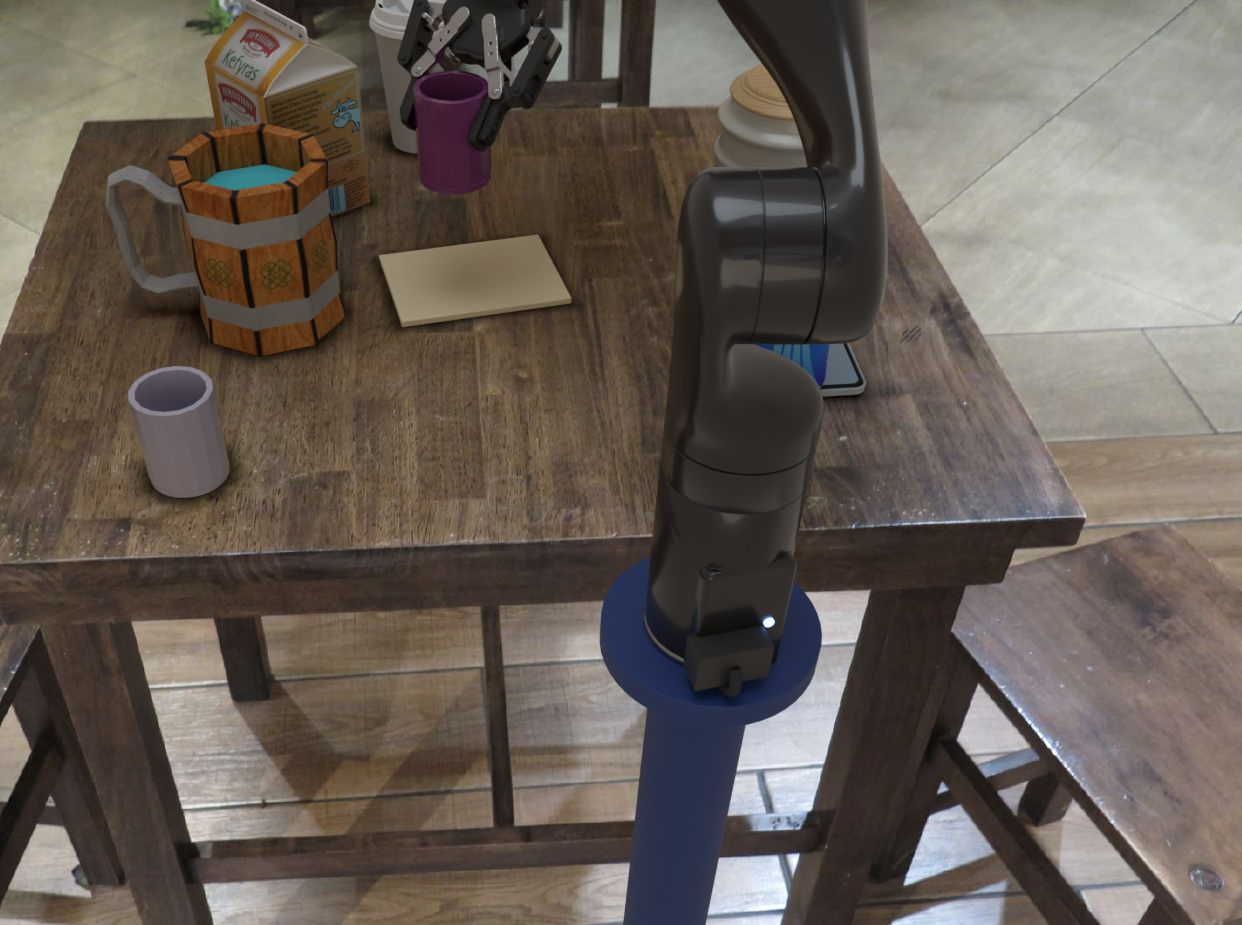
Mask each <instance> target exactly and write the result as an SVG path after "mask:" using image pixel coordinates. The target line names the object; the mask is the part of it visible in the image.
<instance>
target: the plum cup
mask: <svg viewBox="0 0 1242 925" xmlns="http://www.w3.org/2000/svg"><path fill="white" fill-rule="evenodd" d="M413 94H414V109H415V125H416V141H417V154H416V155H417V156H416V157H417V169H418V176H419V181H420V184H421V185H422V186H423V187H424V188H426V189H427V190H428V191H429V190H430V191H431V192H434V193H438V194H443V195H452V196H453V195H455V196H457V195H464V194H471V193H473V192H477V191H480V190H481V189H483V188H485V187H486V186H488V184H489V183H490V181H491V178H492V146H491V147H489V146H488V147H487V149H486V151H485V152H481V151H477V150H475V149H474V148H473V147H472V146H471V145H470V144H469V143H468V137H469V134H470V131H471V129H472V126H473V124H474V121H475V119H476V116H477V114H478V111H479V109H480V107H481V104H482V102H483V99H489V94H488V79H486V78H484V76H481V75H479V74H477V73H474V72H469V71H465V70H455V71H442V72H435V73H432V74H429V75H425V76H423V77H422V78H420V79H419V80H417V81H416V83H415V85H414V87H413Z"/></svg>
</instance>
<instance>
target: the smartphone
mask: <svg viewBox="0 0 1242 925" xmlns="http://www.w3.org/2000/svg"><path fill="white" fill-rule="evenodd" d="M850 344H851V343H844V344H829V352H828V360H827V368H826V376H825V380H824V383H823V385H822V386H821V388H820V390H821V393H822V396H823V397H837V396H838V397H839V396H840V397H841V396H856V395H860V394H862V393H863V392H864V391H865V389H866V385H867V381H866V378H865V376H864V374H863V372H862V369H861V367H860V365H859V362H858V361H857V358H856V356H855V354H854V351H853V349H852V346H851V345H850Z"/></svg>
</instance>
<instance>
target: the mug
mask: <svg viewBox="0 0 1242 925" xmlns="http://www.w3.org/2000/svg"><path fill="white" fill-rule="evenodd" d="M167 161H168V164H169V167H170V170H171V173H172V176H173V180H174V182H175V185H176V187H171V186H170V185H168V184H167V183H165V182H164V181H163V180H161V179H160V178H159V177H158V176H156V175H155V174H154V173H152V172H151V171H150V170H147V169H144V168H141V167H138V166H136V165H132V164H130V165H127V166H125V167H123V168H121V169H118V170H116V171H114V172H111V173H110V174H108V176H107V182H106V191H105V192H106V193H105V201H104V204H105V207H106V210H107V213H108V215H109V218H110V220H111V224H112V226H113V228H114V231H115V234H116V238H117V242H118V246H119V250H120V254H121V256H122V259H123V261H124V265H125V267H126V271H127V273H128V274H129V275H130V276H131V278H132V279H133V280H134V281H135V283H136V284H137V286H139V288H140V289H142V290H145V291H148V292H150V293H154V294H156V295H164V294H168V293H169V294H170V293H173V292H178V291H185V290H192V289H197V288H198V302H199V313H200V316H201V319H202V323H203V325H204V328H205V330H206V333H207V336H208V339H209V342H210V343H211V344H214V345H218V346H221V347H225V348H229V349H232V350H236V351H239V352H243V353H245V354H249V355H253V356H257V357H263V356H268V355H272V354H273V355H274V354H279V353H283V352H287V351H293V350H298V349H303V348H308V347H312V346H316V345H318V344H319V343H320V342H321V341H322V340H323V339H325V337H326V336H327V335H328V334H329V333H330V332H331V331H332V330H333V329H334V328H336V326H337V325H338V324H339V323H340V322H341V321H342V320H343V319H344V318H346V316H347V314H346V309H345V304H344V301H343V297H342V294H341V286H340V277H339V267H338V265H339V264H338V263H339V262H338V240H337V236H336V231H335V226H334V222H333V217H331V212H330V203H329V195H328V160H327V158H326V156H325V154H324V153H323V151H322V149H321V147H320V145H319V144H318V142H317V140H316V138H315V137H314V135H313V134H310V133H305V132H300V131H296V130H291V129H287V128H282V127H278V126H273V125H268V124H264V123H260V124H254V125H247V126H241V127H235V128H228V129H222V130H216V129H215V130H210V131H204V132H203V131H202V132H201V133H200V134H199V135H197V136H196V137H195V138H194V139H192V140H191V141H189V142H188V143H186V144H185V145H183V146H182V147H180V148H179V149H178V150H176V151H175V152H174V153H172V154H171V155H169V156H168V157H167ZM127 182H128V183H131V184H133V185H136V186H138V187H141V188H142V189H144V190H145V191H146V192H147V193H149V194H150V195H151V196H152V197H153V198H154V199H155V200H157V201H159V202H161V203H163V204H164V205H171V206H178V207H180V209H181V218H182V227H183V236H184V241H185V244H186V247H187V251H188V254H189V256H190V259H191V262H192V267H193V270H194V271H189V272H182V273H176V274H173V275H170V276H167V277H163V278H161V277H159V276H156V275H154V274H150V273H149V272H148V270H147V269H146V267H145V266H144V265H143V263H142V262H141V260H140V258H139V254H138V250H137V247H136V243H135V239H134V235H133V231H132V226H131V223H130V221H129V218H128V216H127V214H126V211H125V209H124V206H123V204H122V201H121V199H120V185H122V184H124V183H127Z"/></svg>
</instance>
